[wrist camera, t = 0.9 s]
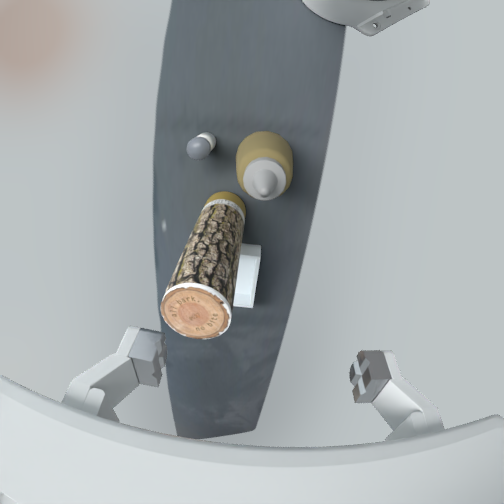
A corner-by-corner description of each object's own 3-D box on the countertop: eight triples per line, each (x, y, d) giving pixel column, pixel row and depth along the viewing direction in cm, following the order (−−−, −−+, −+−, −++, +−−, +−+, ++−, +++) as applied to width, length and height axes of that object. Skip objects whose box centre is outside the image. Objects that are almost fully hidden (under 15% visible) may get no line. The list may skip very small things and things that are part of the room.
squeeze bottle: (296, 170, 44) (314, 218, 29) (247, 184, 46) (238, 238, 31) (282, 121, 41) (294, 140, 25) (230, 136, 42) (210, 165, 27)
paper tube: (197, 204, 48) (146, 304, 27) (230, 182, 46) (199, 274, 24) (221, 234, 51) (192, 346, 29) (254, 214, 49) (245, 324, 27)
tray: (197, 237, 51) (192, 248, 48) (261, 245, 52) (260, 256, 48) (196, 288, 57) (192, 300, 54) (253, 295, 57) (252, 308, 54)
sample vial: (209, 127, 41) (201, 133, 36) (220, 144, 43) (214, 152, 38) (192, 138, 42) (182, 145, 37) (203, 155, 44) (194, 164, 39)
